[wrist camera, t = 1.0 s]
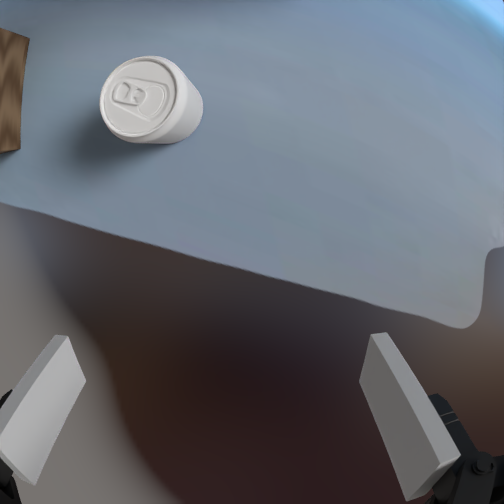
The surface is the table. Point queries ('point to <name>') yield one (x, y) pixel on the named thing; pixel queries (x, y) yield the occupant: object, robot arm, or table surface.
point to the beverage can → (150, 102)
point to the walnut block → (11, 87)
